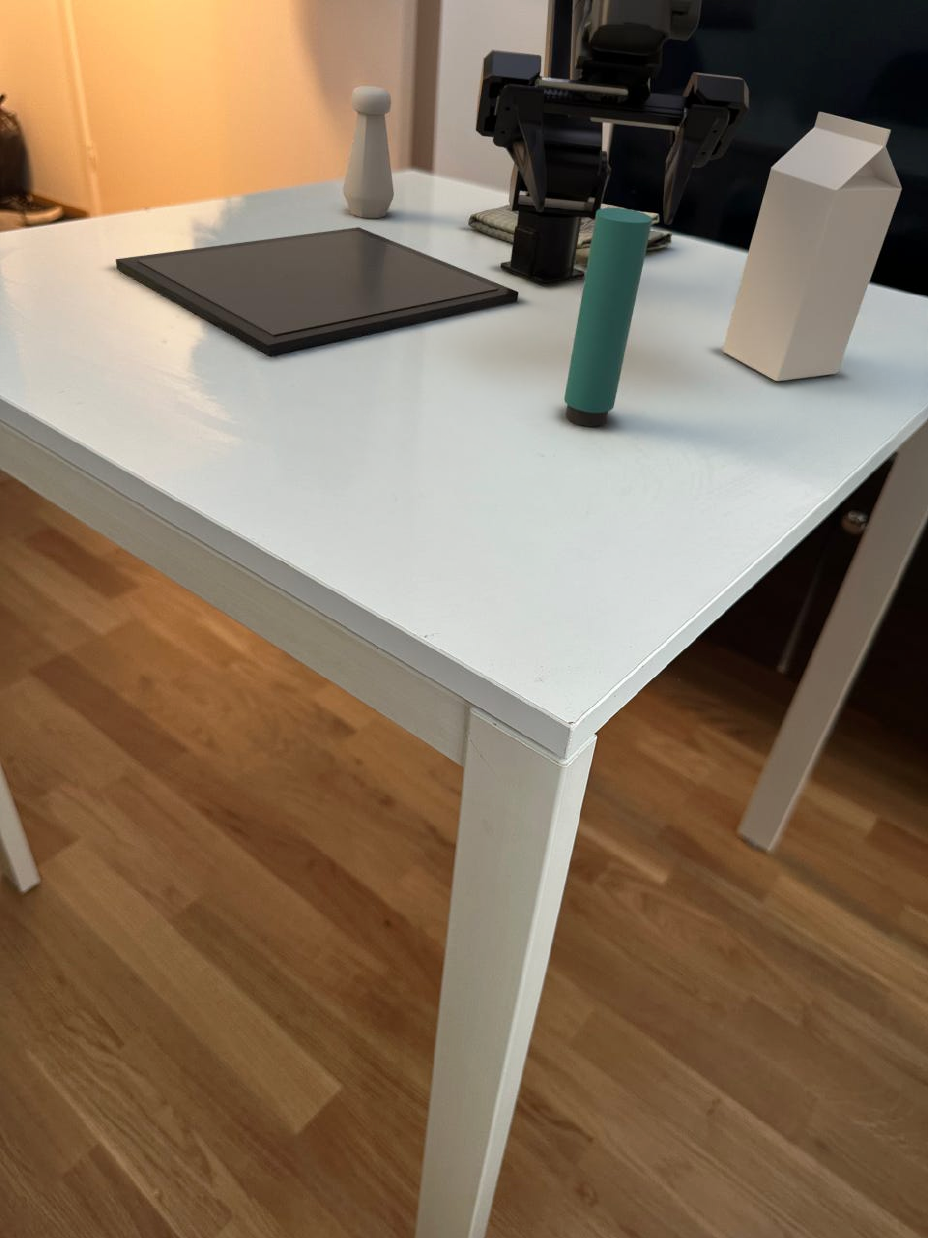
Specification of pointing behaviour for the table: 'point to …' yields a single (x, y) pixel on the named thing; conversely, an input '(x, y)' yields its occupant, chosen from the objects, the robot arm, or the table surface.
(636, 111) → the robot arm
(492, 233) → the dish towel
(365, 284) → the tablet
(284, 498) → the table surface
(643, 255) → the marker
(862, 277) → the milk carton
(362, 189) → the salt shaker
